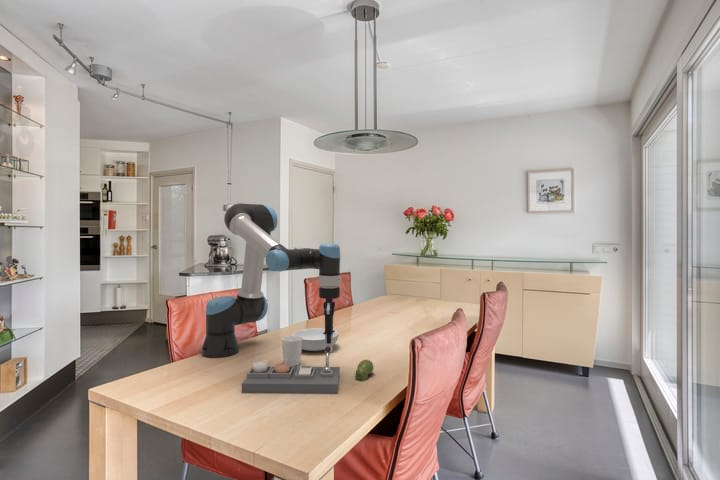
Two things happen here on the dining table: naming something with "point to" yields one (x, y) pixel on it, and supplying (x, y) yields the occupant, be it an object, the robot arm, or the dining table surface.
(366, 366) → the green rounded piece
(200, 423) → the dining table surface
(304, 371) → the rocker switch
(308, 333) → the serving bowl
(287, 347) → the white cup
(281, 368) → the terracotta button
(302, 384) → the switch panel
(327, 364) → the toggle lever
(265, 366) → the cream button
